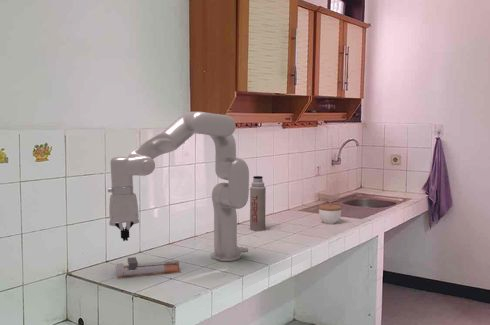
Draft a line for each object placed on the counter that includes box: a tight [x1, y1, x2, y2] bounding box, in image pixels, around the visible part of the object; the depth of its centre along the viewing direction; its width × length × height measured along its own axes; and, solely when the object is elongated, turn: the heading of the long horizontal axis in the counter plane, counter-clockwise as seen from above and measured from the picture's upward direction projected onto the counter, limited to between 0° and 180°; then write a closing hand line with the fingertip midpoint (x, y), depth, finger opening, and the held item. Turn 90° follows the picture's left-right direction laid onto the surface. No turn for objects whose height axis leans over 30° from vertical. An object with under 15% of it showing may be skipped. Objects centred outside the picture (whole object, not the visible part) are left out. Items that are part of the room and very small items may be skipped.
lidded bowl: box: [318, 202, 343, 225], centre depth 278 cm, size 13×13×11 cm
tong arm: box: [127, 260, 180, 269], centre depth 189 cm, size 19×3×2 cm, turn 107°
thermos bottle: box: [249, 175, 267, 232], centre depth 260 cm, size 8×8×28 cm
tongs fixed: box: [115, 262, 178, 278], centre depth 187 cm, size 22×7×3 cm, turn 108°
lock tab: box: [127, 256, 139, 268], centre depth 185 cm, size 3×7×2 cm, turn 18°
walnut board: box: [115, 264, 182, 279], centre depth 190 cm, size 23×15×1 cm, turn 108°
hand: (125, 239), depth 184 cm, fingers closed
